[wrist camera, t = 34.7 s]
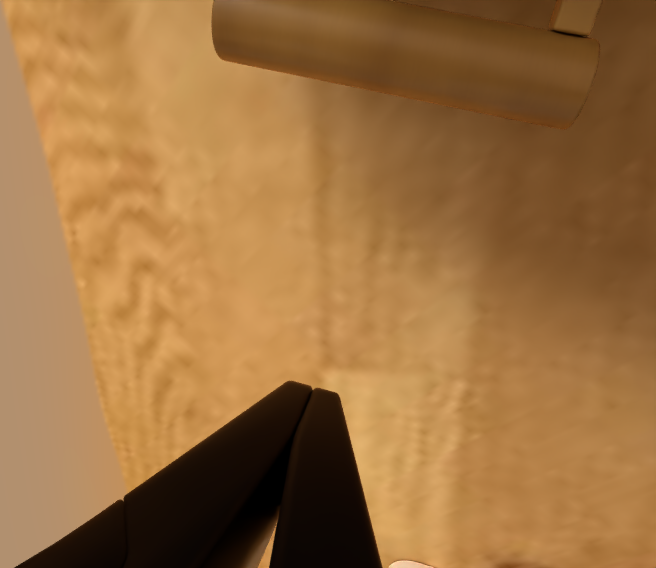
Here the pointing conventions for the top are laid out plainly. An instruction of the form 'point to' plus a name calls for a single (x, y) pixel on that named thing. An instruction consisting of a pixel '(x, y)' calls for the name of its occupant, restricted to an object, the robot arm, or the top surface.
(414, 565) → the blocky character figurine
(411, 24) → the drawer
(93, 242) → the top surface
